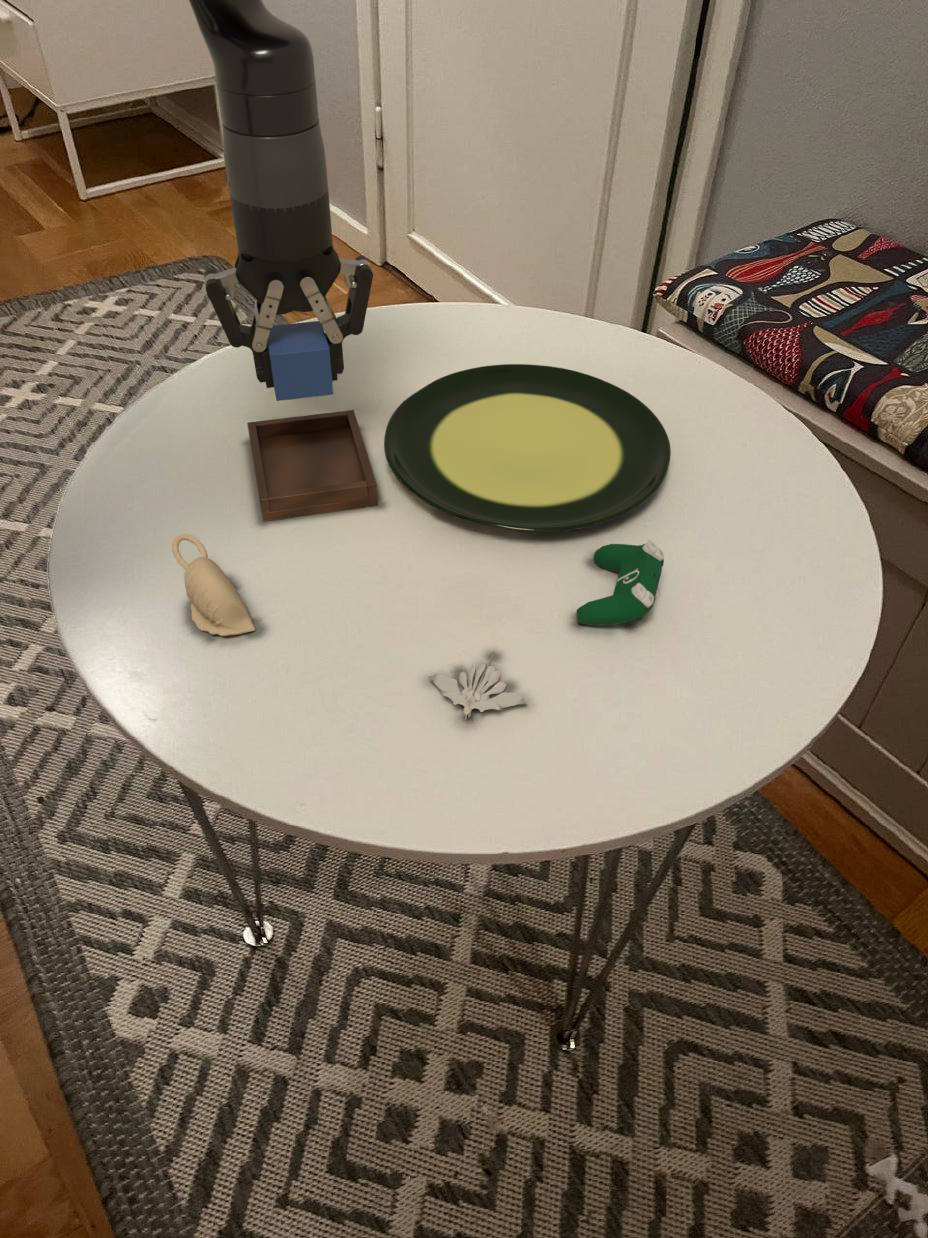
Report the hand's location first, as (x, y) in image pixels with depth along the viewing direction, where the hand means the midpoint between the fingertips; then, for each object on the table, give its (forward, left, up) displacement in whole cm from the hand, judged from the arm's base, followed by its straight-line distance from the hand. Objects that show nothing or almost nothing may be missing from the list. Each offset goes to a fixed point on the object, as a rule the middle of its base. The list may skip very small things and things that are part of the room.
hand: (301, 378), depth 85 cm
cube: (0, 0, 0) cm, 0 cm away
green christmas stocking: (+23, -23, -11) cm, 34 cm away
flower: (+9, -30, -11) cm, 33 cm away
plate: (+21, -2, -11) cm, 24 cm away
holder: (0, 0, -10) cm, 10 cm away
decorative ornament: (-10, -17, -11) cm, 22 cm away
